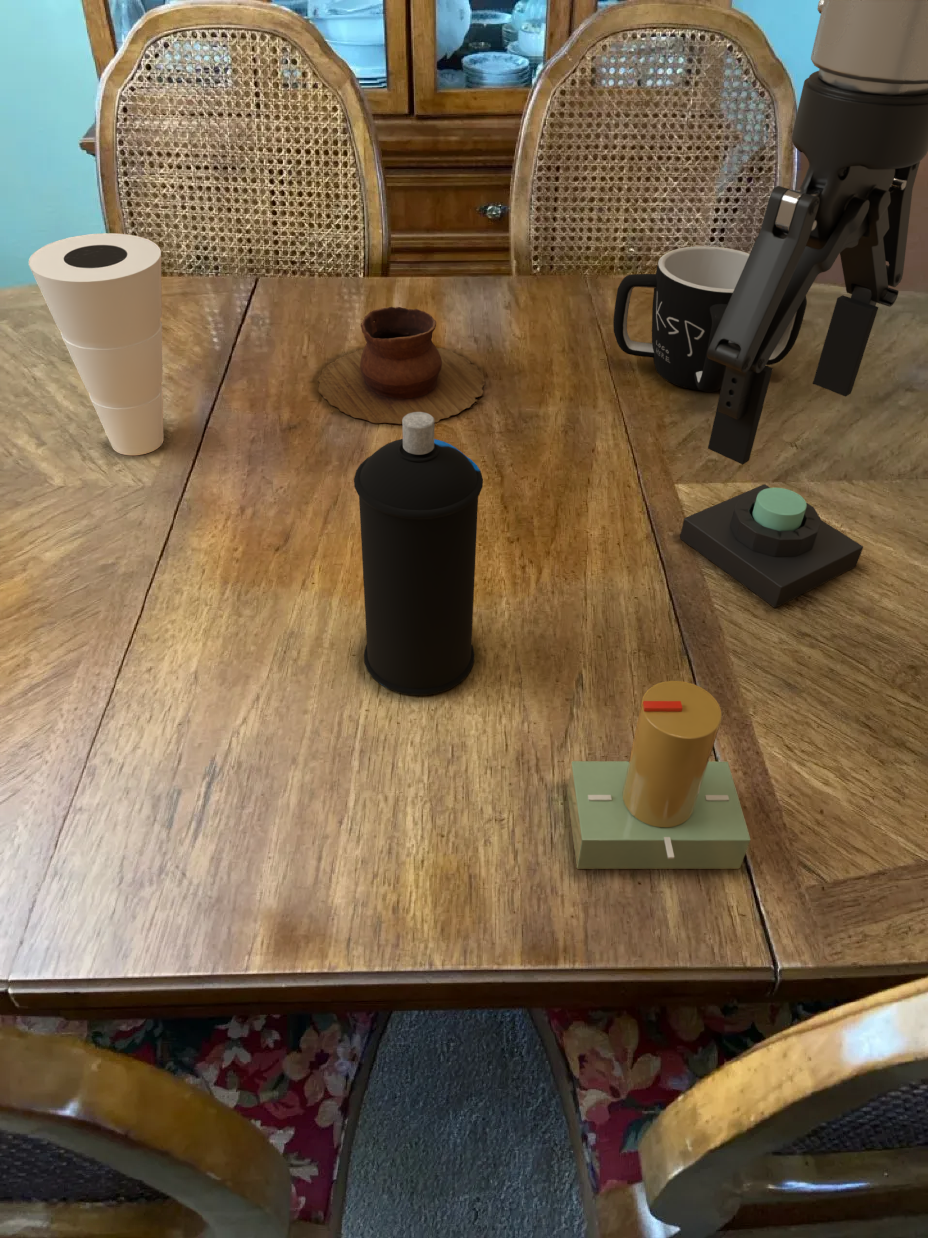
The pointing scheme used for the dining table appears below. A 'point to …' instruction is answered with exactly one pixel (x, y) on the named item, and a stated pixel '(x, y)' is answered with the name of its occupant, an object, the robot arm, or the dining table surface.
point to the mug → (690, 314)
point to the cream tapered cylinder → (111, 328)
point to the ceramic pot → (400, 372)
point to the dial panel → (632, 844)
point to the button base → (770, 548)
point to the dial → (670, 752)
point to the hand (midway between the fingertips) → (782, 420)
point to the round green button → (779, 509)
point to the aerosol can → (418, 559)
